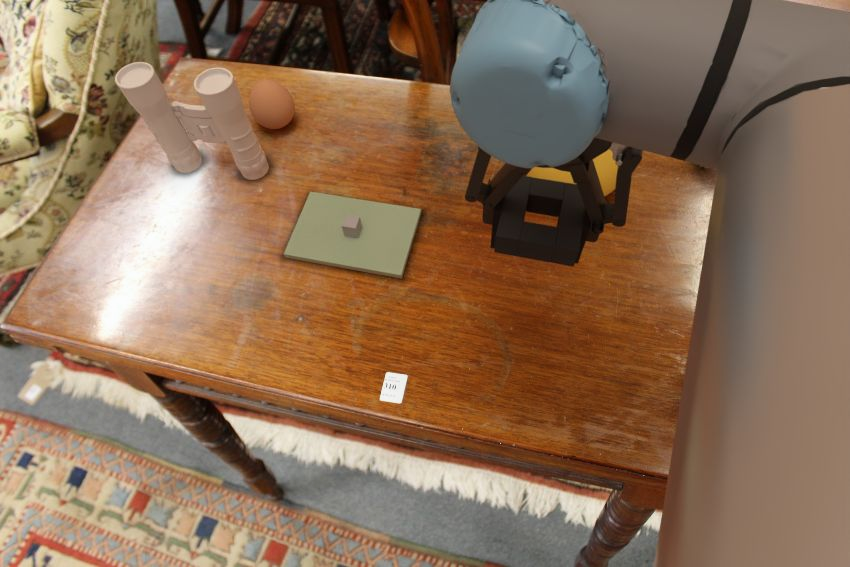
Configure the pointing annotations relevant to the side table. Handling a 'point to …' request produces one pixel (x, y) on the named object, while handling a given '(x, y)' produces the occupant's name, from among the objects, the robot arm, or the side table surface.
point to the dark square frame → (536, 237)
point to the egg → (271, 104)
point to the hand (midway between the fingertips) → (535, 245)
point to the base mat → (354, 234)
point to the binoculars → (195, 118)
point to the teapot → (602, 164)
